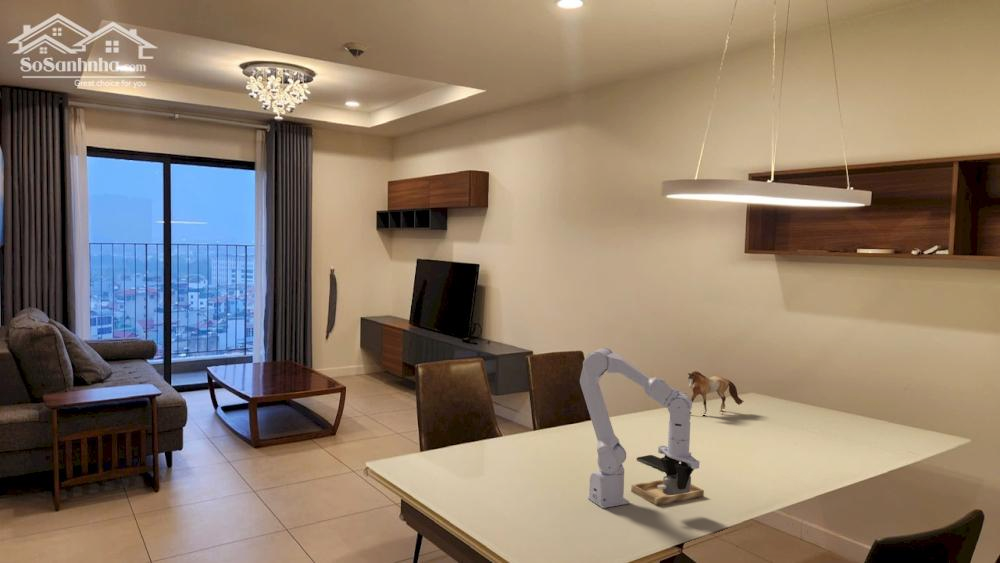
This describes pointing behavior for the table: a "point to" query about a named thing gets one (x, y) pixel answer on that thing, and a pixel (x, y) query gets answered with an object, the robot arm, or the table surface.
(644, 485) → the oak tray
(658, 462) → the phone
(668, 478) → the grey rounded long block
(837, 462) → the table surface
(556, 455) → the table surface
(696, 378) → the horse figurine
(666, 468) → the robot arm
